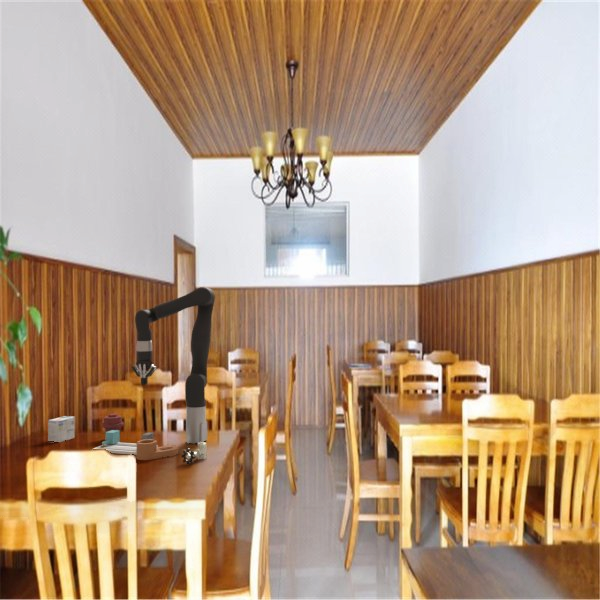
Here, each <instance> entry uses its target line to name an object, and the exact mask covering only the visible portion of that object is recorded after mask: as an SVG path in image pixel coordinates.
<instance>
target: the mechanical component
mask: <svg viewBox="0 0 600 600" xmlns="http://www.w3.org/2000/svg"><path fill="white" fill-rule="evenodd" d="M124 423H125V422H124V421H123V415H120V414H118V413H110V414H109V413H108V415H106V416H104V417H103V422H102V423H101V428H103V429H104V436H105V435H106V432H108V431H111V430H119V431H120V432H121V427H123V426H124V425H125V424H124Z"/></svg>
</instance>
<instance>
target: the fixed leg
mask: <svg viewBox="0 0 600 600" xmlns="http://www.w3.org/2000/svg"><path fill="white" fill-rule="evenodd" d="M154 436H155V433H154V432H149V431H148V432H146V433H143V434H142V435H141V440H145V439H154V440H155V437H154Z"/></svg>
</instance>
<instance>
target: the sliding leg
mask: <svg viewBox="0 0 600 600" xmlns="http://www.w3.org/2000/svg"><path fill="white" fill-rule="evenodd" d="M120 436H121V430H120V431H119V430H111V431H108V432H106V435H105V434H104V438H105V439H104V441H102V442H101V444H102V445H103V447H105V444H115V443H118V442H119V443H121V441H120Z"/></svg>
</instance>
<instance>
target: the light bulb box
mask: <svg viewBox="0 0 600 600" xmlns="http://www.w3.org/2000/svg"><path fill="white" fill-rule="evenodd" d="M75 417H76V416H71V415H70V416H69V415H68V416H67V415H63V416H60V417H56V418H52V419H48V421H47V428H48V429H47V432H48V433H47V434H48V435H47V437H48V438H47V442H48V441H54V442H59V443H61V442H65V440H66V441H69V440H72V439H75V425H76V424H75V423H76V422H75V421H76V418H75ZM54 442H53V443H54Z"/></svg>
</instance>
